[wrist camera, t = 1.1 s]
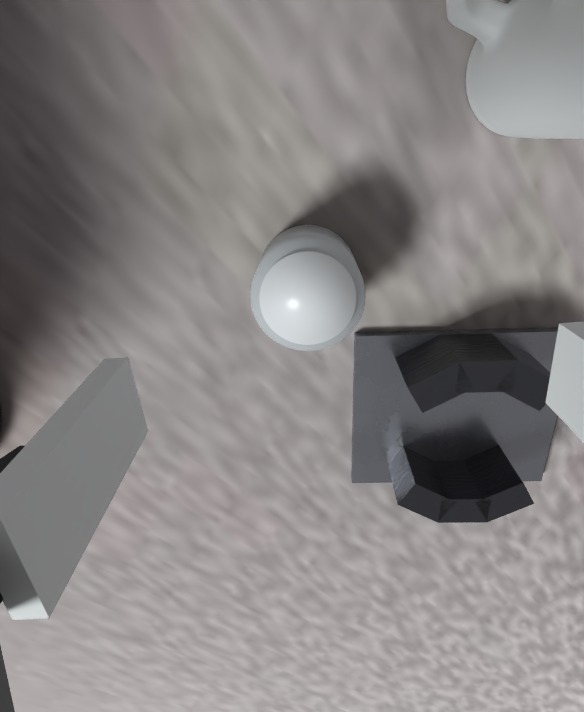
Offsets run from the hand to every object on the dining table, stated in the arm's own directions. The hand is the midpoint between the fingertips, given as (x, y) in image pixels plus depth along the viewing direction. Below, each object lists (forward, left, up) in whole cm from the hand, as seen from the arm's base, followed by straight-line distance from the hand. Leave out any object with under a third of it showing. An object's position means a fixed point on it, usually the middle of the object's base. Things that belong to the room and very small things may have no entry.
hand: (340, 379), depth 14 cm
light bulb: (-1, -1, -15) cm, 15 cm away
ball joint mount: (+9, -11, -15) cm, 20 cm away
